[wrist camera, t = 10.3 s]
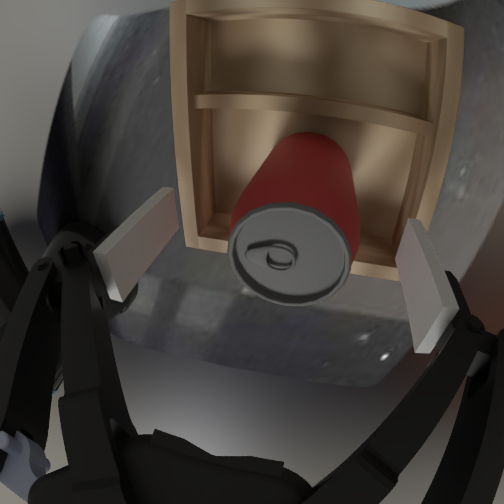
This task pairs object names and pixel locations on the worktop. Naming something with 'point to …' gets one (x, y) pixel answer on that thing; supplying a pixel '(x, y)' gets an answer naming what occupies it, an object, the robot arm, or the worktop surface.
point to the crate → (314, 107)
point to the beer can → (296, 223)
